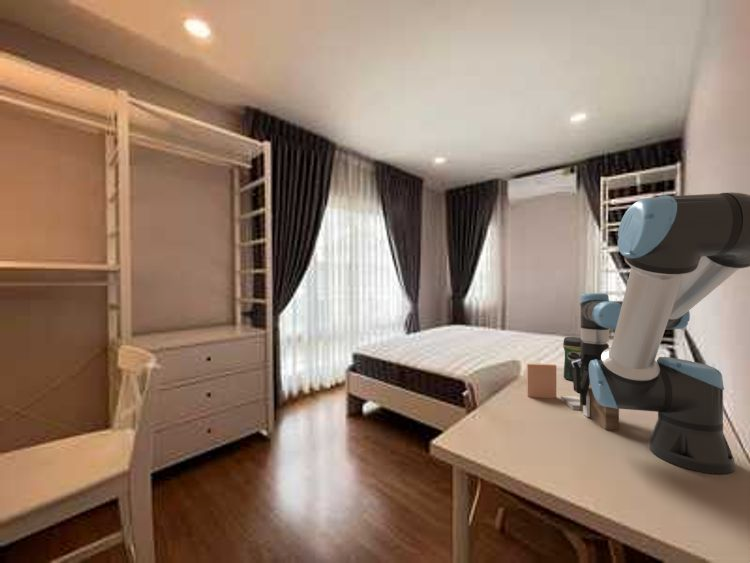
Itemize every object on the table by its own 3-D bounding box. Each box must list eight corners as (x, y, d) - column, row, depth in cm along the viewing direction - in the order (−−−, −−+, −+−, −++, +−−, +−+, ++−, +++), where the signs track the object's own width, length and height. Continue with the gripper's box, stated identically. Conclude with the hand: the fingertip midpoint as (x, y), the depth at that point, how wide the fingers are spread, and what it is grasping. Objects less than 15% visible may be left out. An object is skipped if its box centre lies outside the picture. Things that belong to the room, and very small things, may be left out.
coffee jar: (590, 379, 149) (590, 337, 149) (586, 383, 144) (586, 339, 144) (566, 375, 156) (566, 335, 156) (561, 379, 150) (561, 337, 150)
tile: (556, 398, 126) (556, 365, 126) (527, 396, 127) (527, 364, 127) (554, 396, 127) (554, 364, 127) (526, 395, 128) (526, 363, 129)
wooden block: (627, 431, 97) (627, 399, 97) (597, 429, 98) (597, 398, 99) (584, 400, 123) (584, 375, 123) (560, 399, 124) (560, 374, 124)
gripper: (617, 340, 111) (617, 412, 111) (560, 339, 113) (560, 410, 113) (631, 344, 103) (631, 422, 103) (570, 343, 105) (570, 419, 105)
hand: (594, 415), depth 108 cm, fingers open, 4 cm apart
